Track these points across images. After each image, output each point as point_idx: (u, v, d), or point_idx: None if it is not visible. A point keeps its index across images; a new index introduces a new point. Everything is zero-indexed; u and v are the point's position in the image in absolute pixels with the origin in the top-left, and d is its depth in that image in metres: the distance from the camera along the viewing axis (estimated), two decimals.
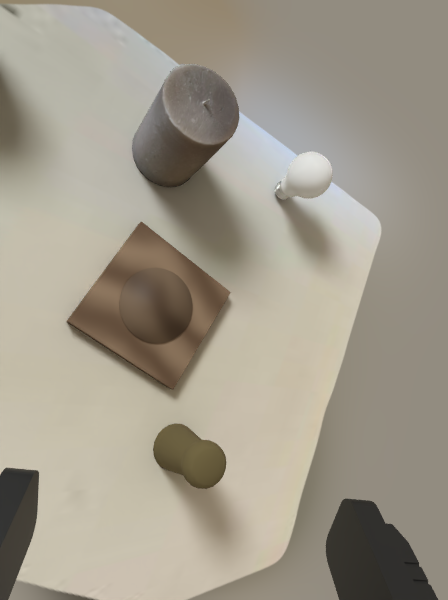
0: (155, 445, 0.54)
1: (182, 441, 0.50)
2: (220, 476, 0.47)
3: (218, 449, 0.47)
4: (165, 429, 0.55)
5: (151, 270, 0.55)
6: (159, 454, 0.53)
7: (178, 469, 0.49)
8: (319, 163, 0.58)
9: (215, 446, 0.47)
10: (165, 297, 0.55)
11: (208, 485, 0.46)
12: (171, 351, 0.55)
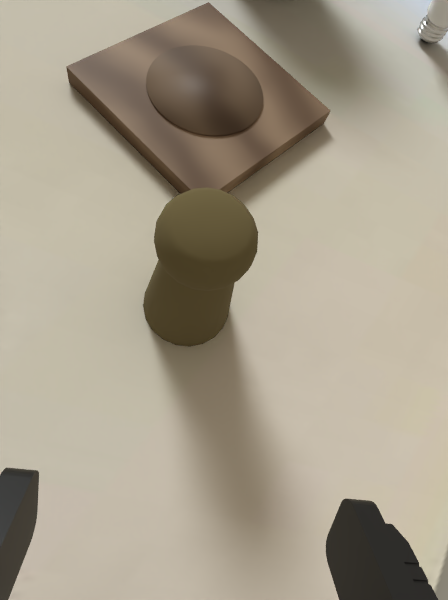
0: None
1: None
2: (233, 251, 0.19)
3: (242, 204, 0.20)
4: None
5: (207, 49, 0.37)
6: (148, 288, 0.27)
7: (160, 274, 0.23)
8: None
9: (237, 199, 0.21)
10: (220, 83, 0.36)
11: (199, 258, 0.19)
12: (213, 150, 0.33)
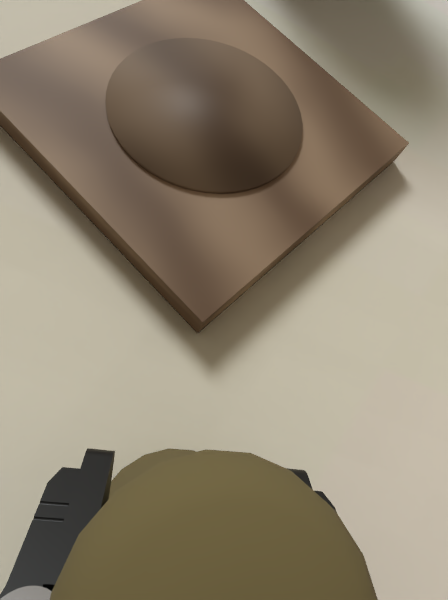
0: None
1: None
2: None
3: (332, 529, 0.06)
4: (150, 455, 0.15)
5: (210, 44, 0.23)
6: None
7: None
8: None
9: (312, 501, 0.07)
10: (232, 99, 0.21)
11: None
12: (221, 220, 0.19)
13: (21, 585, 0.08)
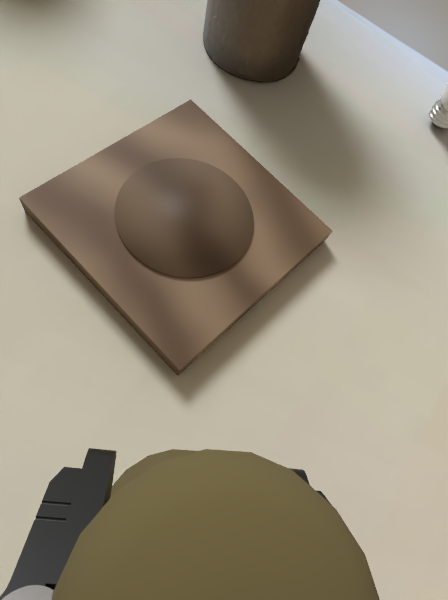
0: None
1: None
2: None
3: (332, 528, 0.06)
4: (154, 455, 0.15)
5: (189, 162, 0.32)
6: None
7: None
8: None
9: (312, 499, 0.07)
10: (203, 205, 0.30)
11: None
12: (194, 297, 0.28)
13: (23, 585, 0.08)
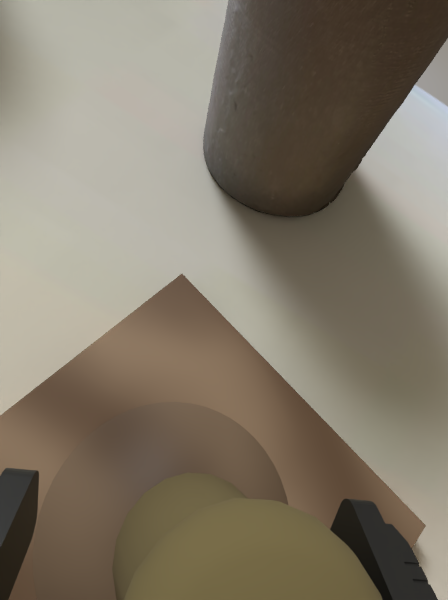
0: (123, 525, 0.16)
1: (192, 507, 0.12)
2: None
3: (355, 574, 0.07)
4: (171, 479, 0.16)
5: (176, 410, 0.18)
6: (118, 559, 0.14)
7: None
8: None
9: (337, 548, 0.08)
10: None
11: None
12: None
13: None
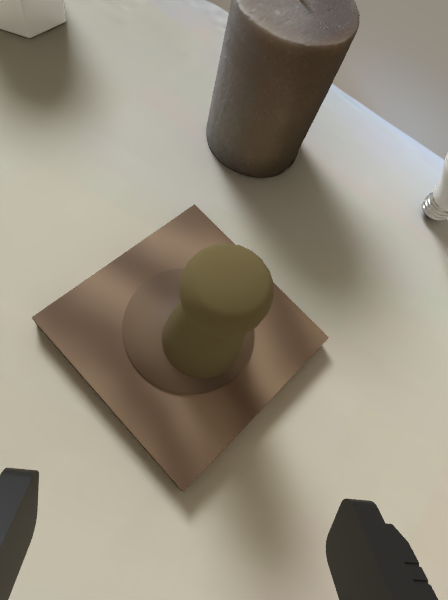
0: (167, 319, 0.31)
1: None
2: (252, 305, 0.21)
3: (259, 258, 0.22)
4: None
5: None
6: (166, 325, 0.29)
7: (182, 318, 0.25)
8: None
9: (254, 253, 0.23)
10: None
11: (222, 312, 0.21)
12: (197, 414, 0.29)
13: None
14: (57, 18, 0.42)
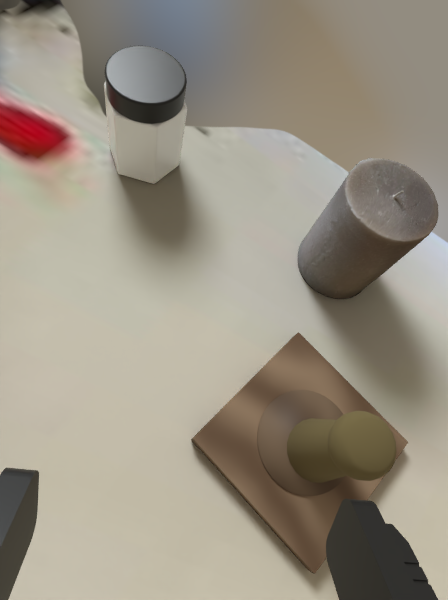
0: (290, 436, 0.41)
1: (331, 421, 0.36)
2: (387, 464, 0.31)
3: (386, 424, 0.32)
4: (306, 420, 0.41)
5: (303, 393, 0.43)
6: (295, 445, 0.39)
7: (321, 455, 0.35)
8: None
9: (381, 420, 0.32)
10: None
11: (367, 471, 0.30)
12: (318, 512, 0.39)
13: None
14: (174, 165, 0.52)
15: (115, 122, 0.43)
